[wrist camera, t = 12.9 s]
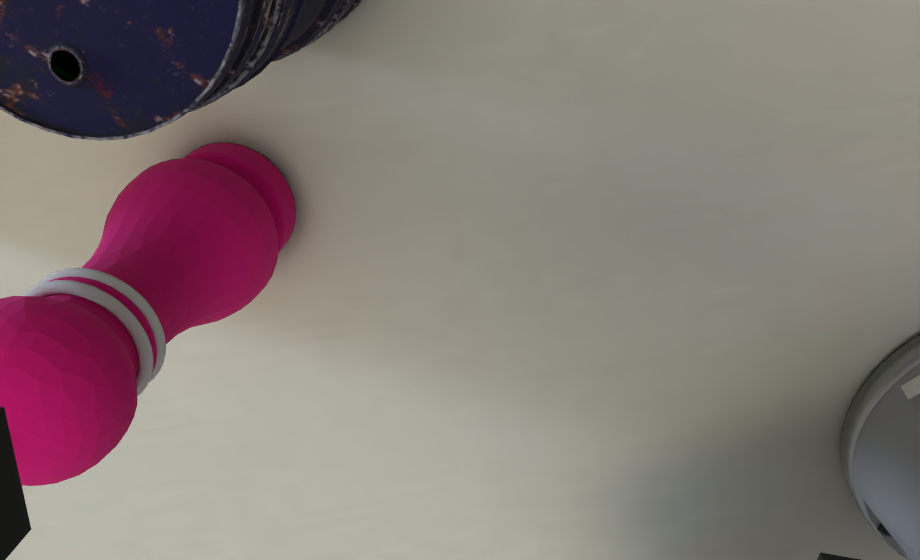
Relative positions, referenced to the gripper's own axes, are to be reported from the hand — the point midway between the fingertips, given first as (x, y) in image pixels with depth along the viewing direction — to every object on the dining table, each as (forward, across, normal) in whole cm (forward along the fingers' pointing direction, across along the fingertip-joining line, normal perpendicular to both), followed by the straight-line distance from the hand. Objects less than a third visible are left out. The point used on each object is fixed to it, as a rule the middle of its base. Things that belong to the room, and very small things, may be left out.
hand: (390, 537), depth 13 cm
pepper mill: (+25, +13, +6) cm, 29 cm away
